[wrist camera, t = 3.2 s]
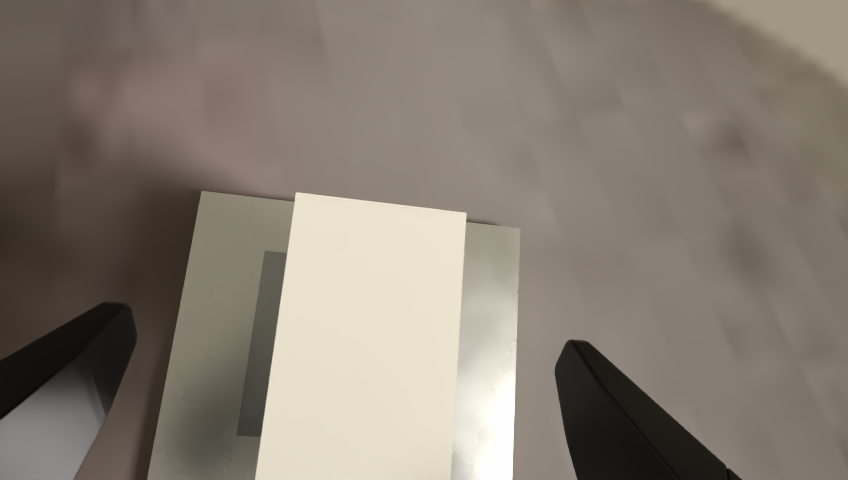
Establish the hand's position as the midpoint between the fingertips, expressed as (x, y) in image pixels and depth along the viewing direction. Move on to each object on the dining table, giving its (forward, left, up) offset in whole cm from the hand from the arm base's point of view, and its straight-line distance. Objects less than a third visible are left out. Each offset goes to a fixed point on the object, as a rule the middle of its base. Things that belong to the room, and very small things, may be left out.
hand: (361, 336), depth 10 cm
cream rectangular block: (0, 0, -7) cm, 7 cm away
